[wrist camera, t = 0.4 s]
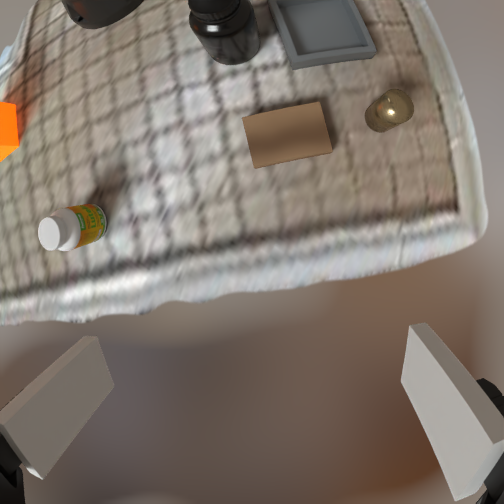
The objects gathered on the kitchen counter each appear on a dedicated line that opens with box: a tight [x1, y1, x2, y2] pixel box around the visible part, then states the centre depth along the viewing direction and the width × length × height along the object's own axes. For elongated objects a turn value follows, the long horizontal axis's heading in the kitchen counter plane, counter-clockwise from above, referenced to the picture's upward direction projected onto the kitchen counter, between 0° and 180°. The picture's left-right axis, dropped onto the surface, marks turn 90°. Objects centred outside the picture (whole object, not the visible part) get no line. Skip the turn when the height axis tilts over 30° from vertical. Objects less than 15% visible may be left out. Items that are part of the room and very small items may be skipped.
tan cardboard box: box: [242, 102, 333, 169], centre depth 33 cm, size 6×9×2 cm, turn 103°
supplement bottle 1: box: [38, 204, 107, 251], centre depth 34 cm, size 5×5×10 cm
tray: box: [268, 0, 377, 70], centre depth 29 cm, size 11×11×2 cm
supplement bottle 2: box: [188, 0, 260, 65], centre depth 26 cm, size 7×7×12 cm
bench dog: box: [365, 89, 414, 132], centre depth 28 cm, size 4×4×7 cm
